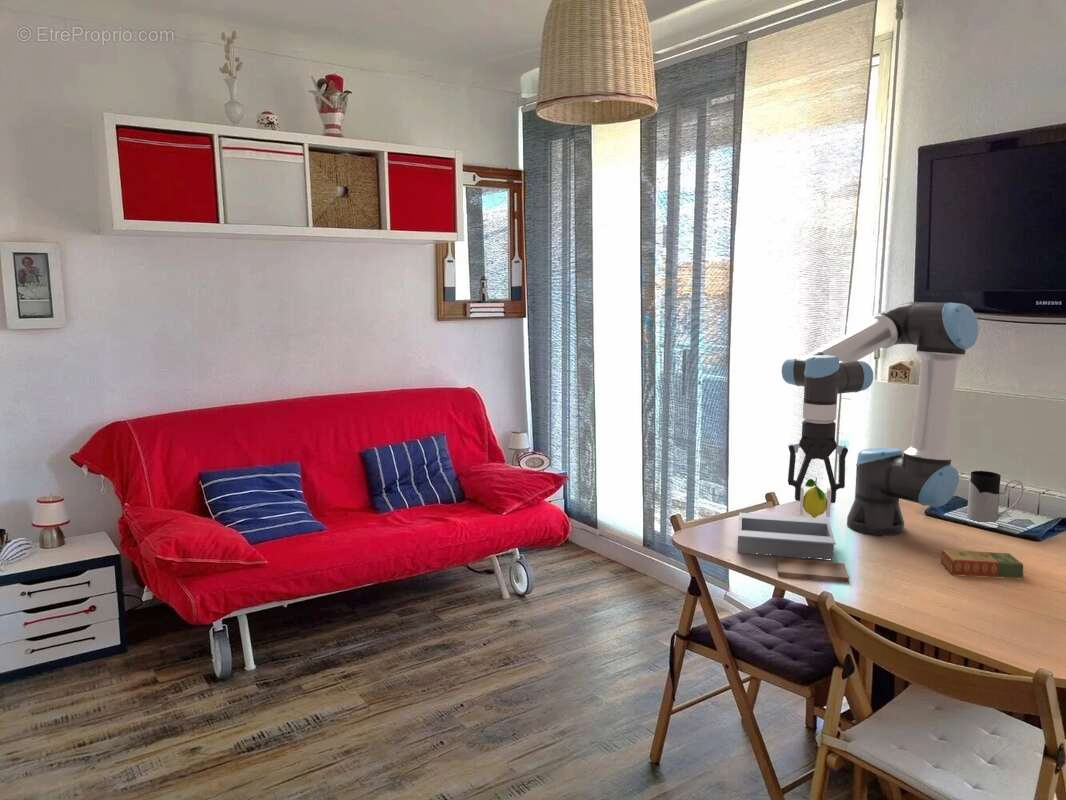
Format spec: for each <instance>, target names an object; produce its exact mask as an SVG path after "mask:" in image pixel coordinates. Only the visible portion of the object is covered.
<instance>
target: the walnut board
mask: <svg viewBox="0 0 1066 800" xmlns="http://www.w3.org/2000/svg"><path fill="white" fill-rule="evenodd" d="M776 567H777V568H778V569H777V568H776V569H777V577H779V576H782V577H781V578H789V579H790V578H792V579H801V578H807V579H806V580H812V579H818V580H817V581H824V580H825V581H826V582H838V583H846V582H848V583H850V582H849V581H850V577H849V573H848V571H847V567H846V564H845V563H844V562H834V561H824V560H823V561H822V560H821V561H820V560H812V559H809V560H808V559H800V558H788V557H787V558H786V557H777V558H776Z"/></svg>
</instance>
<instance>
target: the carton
mask: <svg viewBox="0 0 1066 800" xmlns="http://www.w3.org/2000/svg"><path fill="white" fill-rule="evenodd" d="M940 563H941V564H942V565H943V566H944V567H945V568H944V567H943V566H942V565H941V564H940ZM940 563H939V564H940V565H941V566H942V567H943V568H944V569H945V570H946V572H948V574H950V576H956V575H966V576H965V577H975V576H987V577H986V578H994V577H1004V578H1003V579H1012V578H1023V579H1024V563H1022V562H1021V561H1019V560H1018V559H1017V558H1016V557H1014V556H1013V555H1012V554H1011V553H1008V552H995V551H994V552H990V551H975V550H974V551H972V550H971V551H970V550H957V549H956V550H953V549H942V550H941V553H940Z"/></svg>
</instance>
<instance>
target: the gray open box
mask: <svg viewBox="0 0 1066 800" xmlns="http://www.w3.org/2000/svg"><path fill="white" fill-rule="evenodd" d="M737 528H738V530H737V553H738V554H747V553H755V554H754V555H759V554H768V555H767V556H771V555H779V556H778V557H783V556H789V557H788V558H796V557H806V558H805V559H808V557H810V558H822V559H831V560H830V561H832V560H833V561H834V546H835V545H836V544H837V543H836V539H835V536H834V533H833V530H832V527H831V522H830V520H829V518H823V517H821V518H820V517H816V518H813V517H806V516H793V515H782V514H781V515H780V514H767V513H765V514H764V513H749V512H739V514H738V527H737ZM740 552H741V553H740ZM756 553H758V554H756ZM770 554H771V555H770Z"/></svg>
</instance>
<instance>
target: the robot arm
mask: <svg viewBox="0 0 1066 800" xmlns="http://www.w3.org/2000/svg"><path fill="white" fill-rule="evenodd" d="M978 322H979V321H978V318H977V315H976V314H975V312H974V310H973V308H971V307H970V306H969V305H967V304H965V303H958V302H927V301H925V302H923V301H922V302H921V301H911V302H906V303H901V304H897V305H895V306H893V307H890V308H887V309H885V310H883V311H881V312H879V313H877V314H875V315H873V316H871V317H870V318H868V320H867V322H866V323H865V324H864V325H861V326H859V327H857V328H856V329H854V330H852V331H850V332H849V333H848V332H847V334H845V335H843V336H841V337H838V338H837V339H835V340H833V341H831V342H830V343H828V344H825V345H823V346H822V347H820V348H818V349H816V350H813V351H812V352H810V353H808V354H806V355H803V356H800V355H795V356H794V355H792V356H788V357H787V358H786V359H785V360H784V361H783V362H782V366H781V376H782V377H781V378H782V379H783V381H784V382H785V383H787V384H788V385H793V386H796V387H804V390H803V401H802V402H803V404H802V405H803V406H802V419H803V420H802V423H801V424H802V425H801V426H802V427H801V437H800V440H799V441H798V442H796V443H789V444H788V445H787V446H788V447H787V448H788V450H789V463H788V474H787V484H788V485H789V486H791V487H794V499H795V501H797V502H799V503H798V505H799V506H798V513H799V515H798V516H804V507H803V500H804V495H805V488H804V487H805V486H803V482H804V479H805V476H806V474H807V472H808V468H809V466H810V464H811V461H812V460H816V459H817V460H818V459H819V460H823V463H824V466H825V471H826V474H827V478H828V482H829V486H830V487H827V488H826V499H827V507H826V510H825V515H826V516H825V517H826V518H831V507H832V506H831V504H835V503H836V501H837V500H836V499H837V491H838V490H841V489H844V488H846V486H845V485H846V457H847V454H848V453H849V449H848V447H847V446H845V445H843V446H842V445H840V444H838V443H837V441H836V430H837V429H836V426H837V424H836V422H835V421H836V419H837V410H838V409H837V407H838V406H837V405H838V403H837V402H838V395H839V394H840V395H841V394H849V393H859V392H863V391H866V390H868V389H869V388H870V387H871V386H872V383H873V381H874V371H873V369H872V367H871V365H870V364H869V363H867V362H866V361H862V360H861V359H863V358H865V357H866V356H869V355H870V354H872V353H874V352H876V351H878V350H879V349H889V348H891V347H893V346H895V345H896V346H897V345H913V346H916V354H918V356H919V357H920V359H921V360H920V361H921V363H920V370H919V378H918V387H917V392H916V393H917V394H916V400H915V401H916V402H915V407H914V408H915V409H914V416H913V417H914V418H913V425H912V426H913V427H912V434H911V442H910V446H909V447H908V448H907V449H905V450H904V451H903V450H902V449H900V448H899V447H898V448H897V447H896V448H895V447H873V448H872V447H871V448H866V449H863V450H860V451H859V452H858V453H857V458H856V459H857V461H856V464H855V466H856V468H855V469H856V474H855V488H854V489H855V493H854V499H853V503H852V505H851V507H850V509H849V510H850V511H849V512H848V515H847V518H846V525H847V527H848V528H849V527H850V528H849V529H852V530H853V531H857V532H859V533H862V534H868V535H876V536H895V535H900V534H903V533H904V532H905V521H904V517H903V514H902V510H901V507H900V500H905V501H909V502H912V503H916V504H920V505H921V506H929V507H934V508H938V507H939V508H940V507H942V506H945V505H946V504H947V503H949V502H950V500H951V499H952V498H953V497H954V495H955V493H956V491H957V489H958V487H959V480H960V475H959V471H958V469H957V467H955V466H953V465H952V464H951V463H952V456H951V455H950V454H949V452H948V451H947V446H948V441H949V440H948V438H949V431H950V424H951V415H952V410H953V409H952V407H953V400H954V392H955V384H956V378H957V377H956V376H957V369H958V362H959V361H960V360H961V359H962V358H964V357H965V356H966V350H969V349H971V348H972V347H973V346H975V344H976V341H977V340H978V336H979V323H978ZM799 448H801V450H802V451H803V453H804V454H805V455H804V457H803V461H802V464H801V466H800V470H799V472H798V475H797V477H796V480H795V471H796V470H795V469H796V459H797V458H796V457H797V456H796V455H797V453H798V452H799ZM835 450H836V453H837V455H838V480H837V481H838V482H836V481H835V477H834V473H833V472H834V471H833V467H832V465H831V459H830V456H831V455H832V454H833V452H835Z"/></svg>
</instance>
